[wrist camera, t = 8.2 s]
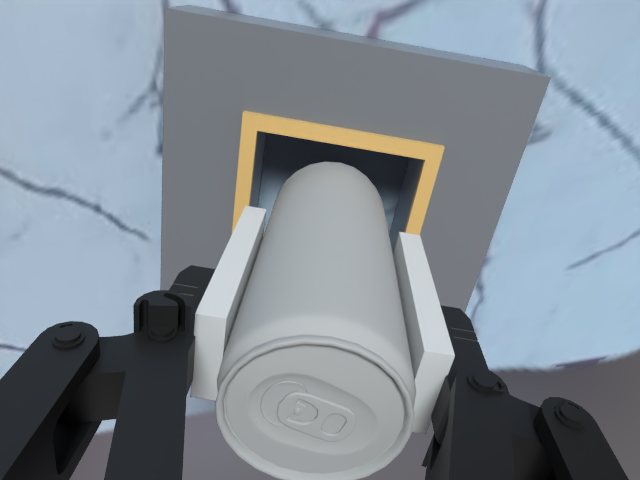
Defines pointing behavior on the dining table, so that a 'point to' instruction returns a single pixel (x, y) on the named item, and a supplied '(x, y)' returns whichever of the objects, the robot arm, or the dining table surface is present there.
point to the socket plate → (337, 131)
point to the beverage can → (320, 337)
